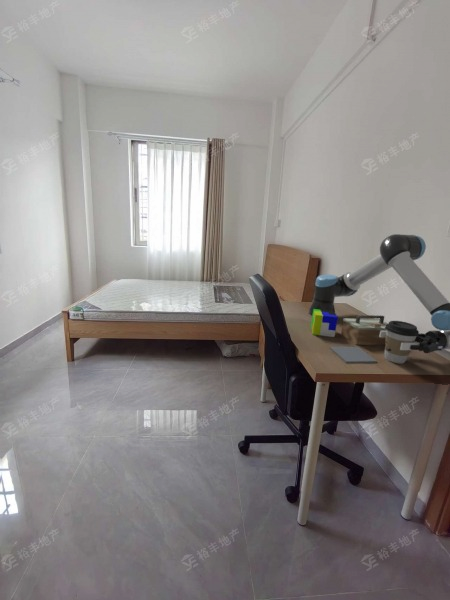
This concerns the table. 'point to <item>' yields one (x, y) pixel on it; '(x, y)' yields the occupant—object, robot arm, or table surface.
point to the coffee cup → (398, 340)
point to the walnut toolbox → (364, 329)
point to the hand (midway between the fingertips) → (390, 339)
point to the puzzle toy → (324, 322)
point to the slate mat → (353, 355)
